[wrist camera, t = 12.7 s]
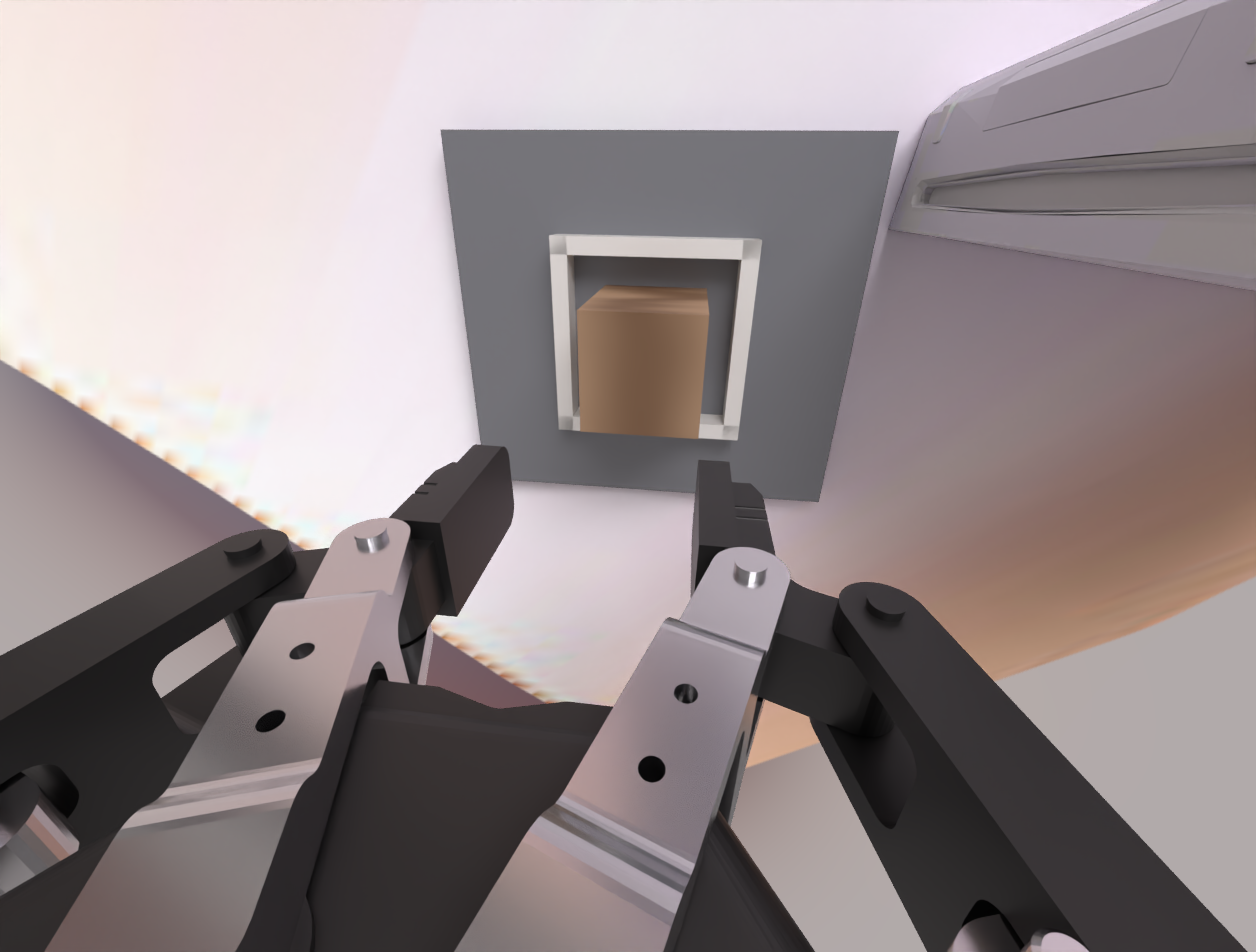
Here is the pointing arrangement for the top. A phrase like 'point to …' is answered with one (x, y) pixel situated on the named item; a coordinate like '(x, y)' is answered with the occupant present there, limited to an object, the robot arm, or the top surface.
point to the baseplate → (667, 257)
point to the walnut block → (642, 360)
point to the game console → (1107, 149)
